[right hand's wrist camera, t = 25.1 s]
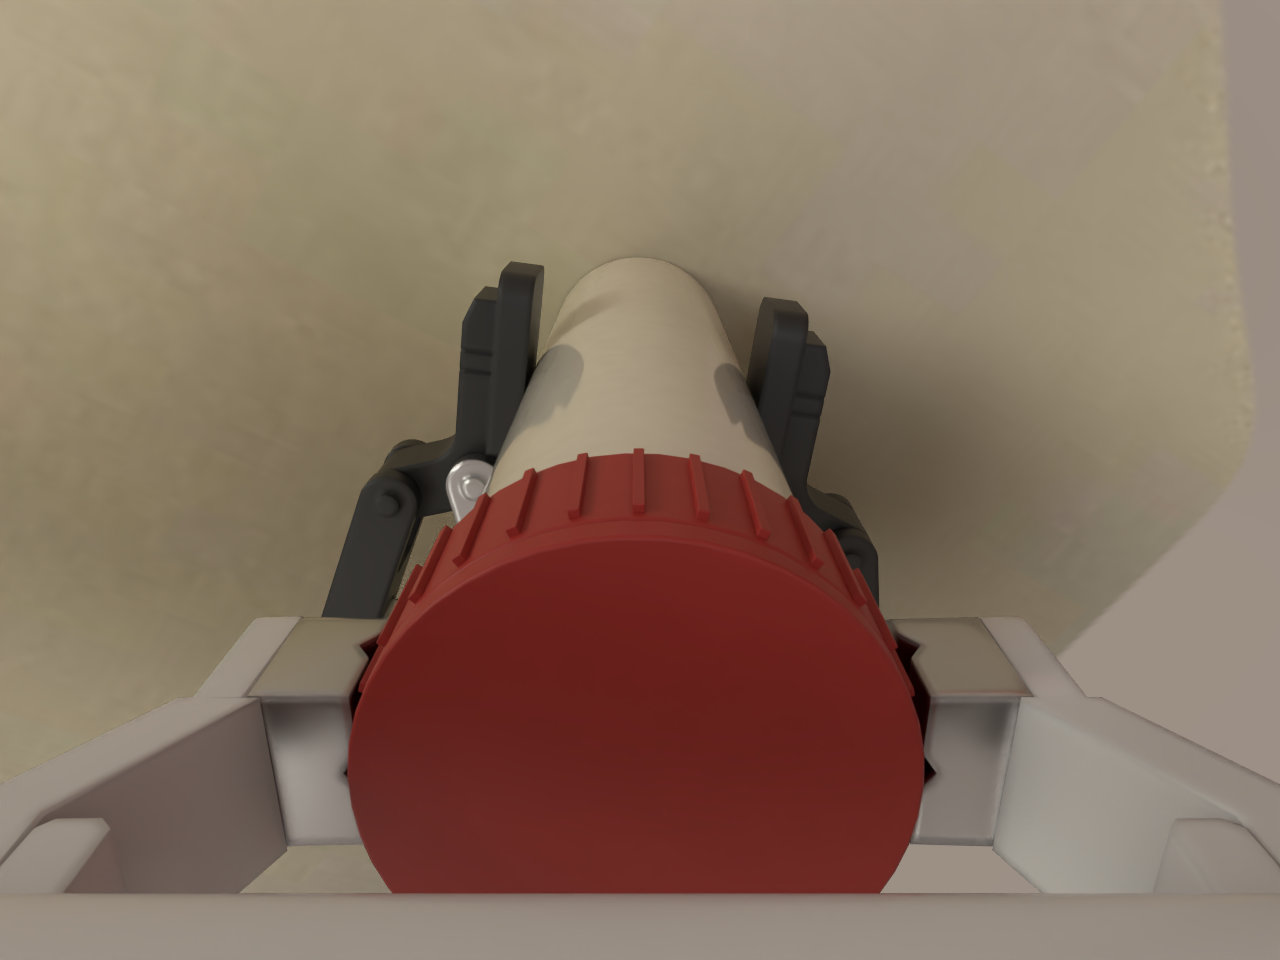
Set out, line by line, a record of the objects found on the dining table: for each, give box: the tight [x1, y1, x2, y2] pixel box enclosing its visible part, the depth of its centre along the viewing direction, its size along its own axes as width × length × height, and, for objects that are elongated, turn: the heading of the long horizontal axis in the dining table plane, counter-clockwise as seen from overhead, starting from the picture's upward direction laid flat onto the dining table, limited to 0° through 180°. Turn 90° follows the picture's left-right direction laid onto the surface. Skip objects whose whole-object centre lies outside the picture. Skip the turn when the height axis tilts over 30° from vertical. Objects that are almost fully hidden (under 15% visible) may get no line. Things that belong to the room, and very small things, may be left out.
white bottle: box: [482, 257, 794, 499], centre depth 17 cm, size 5×5×18 cm
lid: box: [347, 448, 924, 893], centre depth 9 cm, size 6×6×2 cm
